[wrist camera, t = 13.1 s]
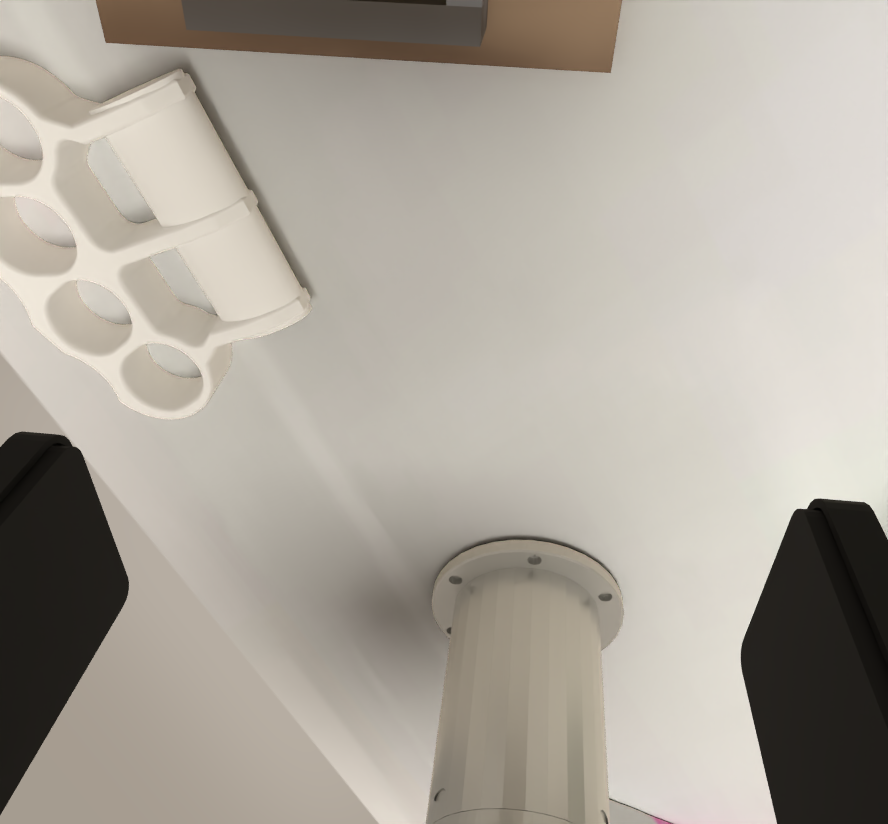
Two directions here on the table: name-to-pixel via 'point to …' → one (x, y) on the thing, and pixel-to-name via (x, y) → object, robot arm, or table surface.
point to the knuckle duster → (140, 237)
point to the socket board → (381, 29)
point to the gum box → (630, 815)
